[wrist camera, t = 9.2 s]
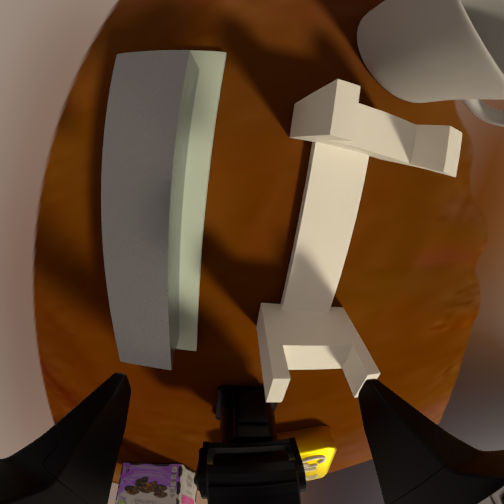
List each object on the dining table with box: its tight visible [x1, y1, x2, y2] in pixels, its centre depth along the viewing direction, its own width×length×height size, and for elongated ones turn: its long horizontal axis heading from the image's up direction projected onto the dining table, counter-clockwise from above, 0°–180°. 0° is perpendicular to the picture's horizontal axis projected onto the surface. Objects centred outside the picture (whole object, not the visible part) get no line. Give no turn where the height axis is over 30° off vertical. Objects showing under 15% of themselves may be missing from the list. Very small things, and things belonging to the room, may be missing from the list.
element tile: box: [277, 426, 336, 481], centre depth 31 cm, size 15×15×5 cm
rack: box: [256, 79, 462, 402], centre depth 16 cm, size 18×7×8 cm, turn 172°
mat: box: [129, 50, 227, 351], centre depth 18 cm, size 23×7×1 cm, turn 172°
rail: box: [101, 50, 199, 370], centre depth 16 cm, size 20×4×4 cm, turn 172°
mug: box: [357, 0, 504, 127], centre depth 10 cm, size 12×8×11 cm
